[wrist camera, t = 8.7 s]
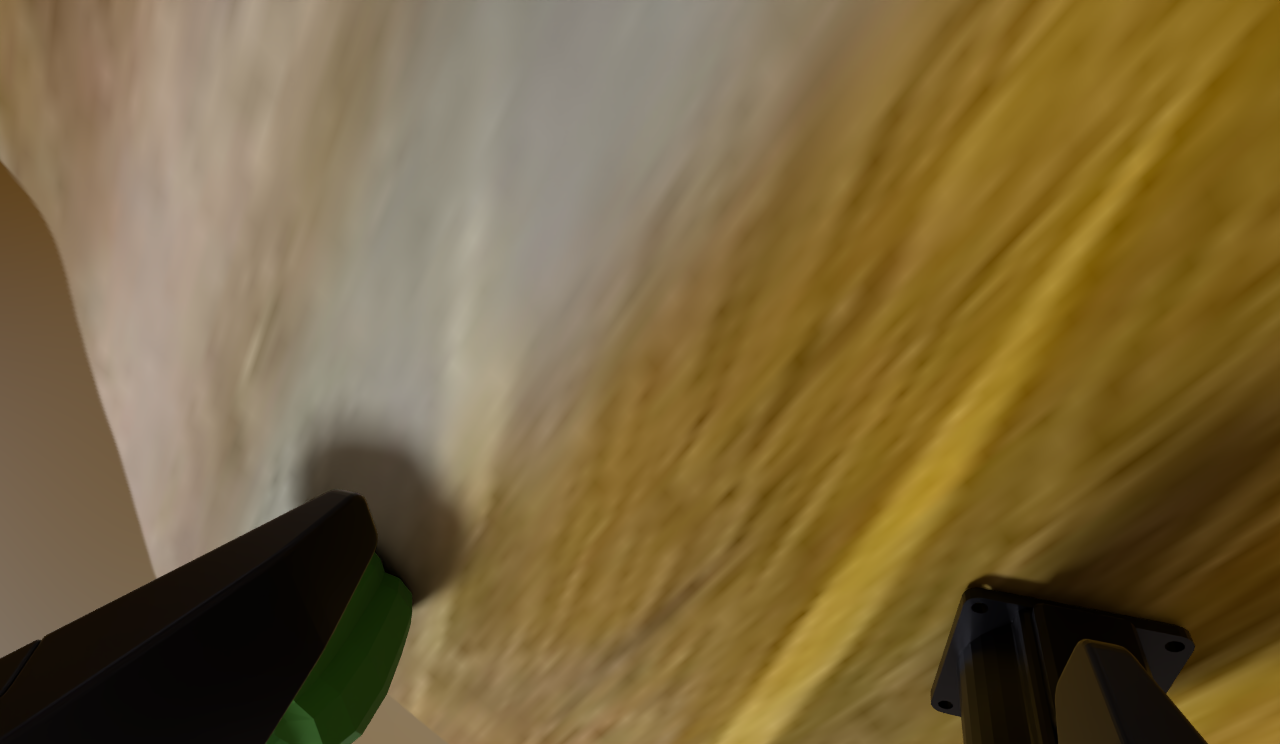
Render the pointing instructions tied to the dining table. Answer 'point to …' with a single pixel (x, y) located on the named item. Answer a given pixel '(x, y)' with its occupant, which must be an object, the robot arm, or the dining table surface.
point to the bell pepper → (352, 665)
